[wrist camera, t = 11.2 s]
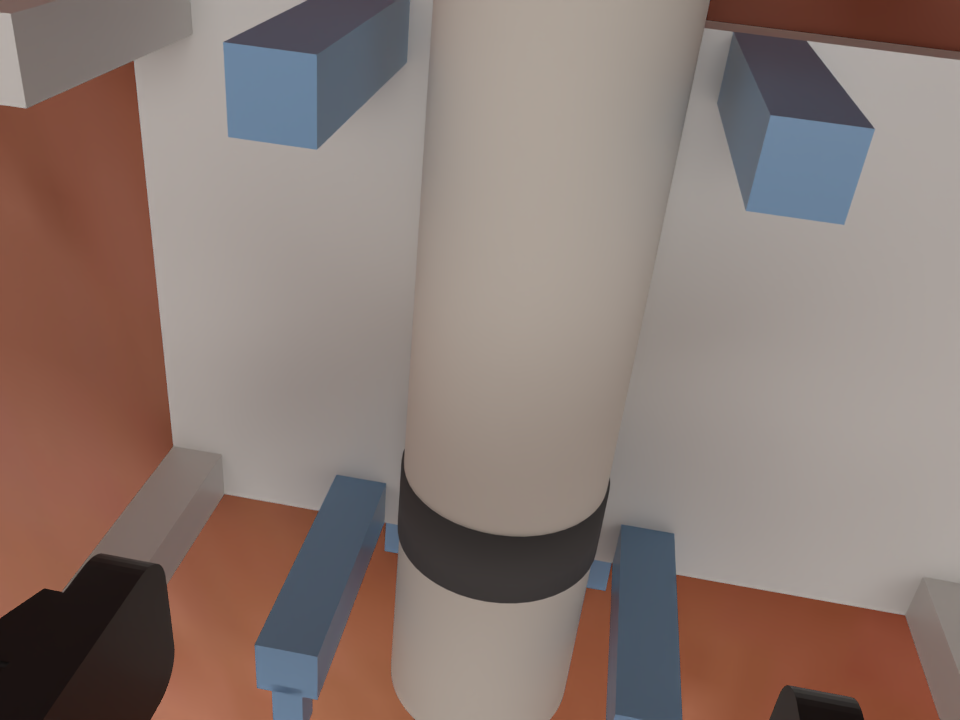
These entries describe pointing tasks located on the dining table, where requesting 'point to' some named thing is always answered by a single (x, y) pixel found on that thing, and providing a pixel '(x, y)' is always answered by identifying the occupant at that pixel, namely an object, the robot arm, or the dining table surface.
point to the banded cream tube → (526, 330)
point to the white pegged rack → (662, 341)
